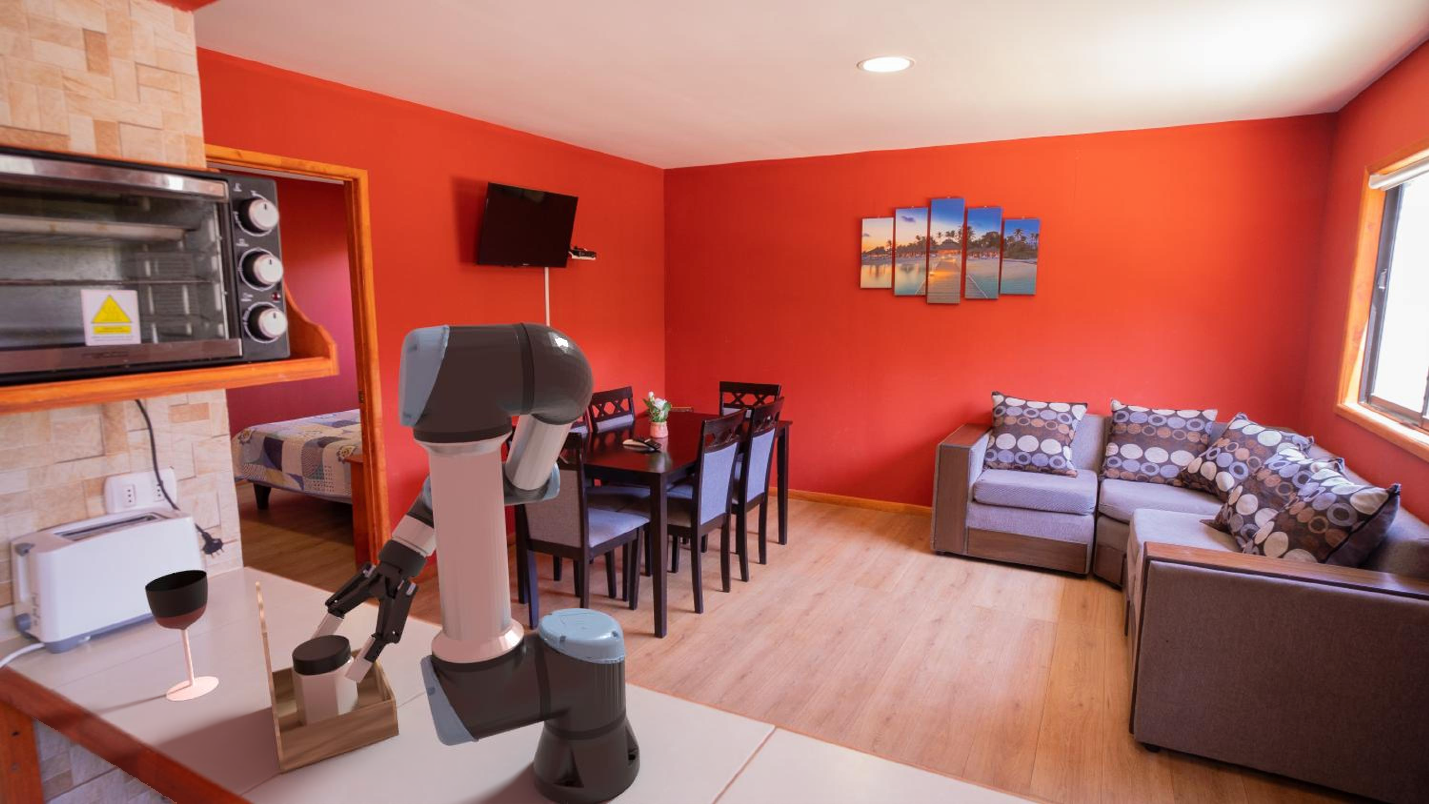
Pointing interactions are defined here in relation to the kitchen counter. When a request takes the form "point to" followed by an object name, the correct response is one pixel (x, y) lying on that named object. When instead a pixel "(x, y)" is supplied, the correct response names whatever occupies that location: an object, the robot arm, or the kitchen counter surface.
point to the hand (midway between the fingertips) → (330, 666)
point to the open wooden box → (334, 733)
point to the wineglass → (181, 620)
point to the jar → (323, 679)
